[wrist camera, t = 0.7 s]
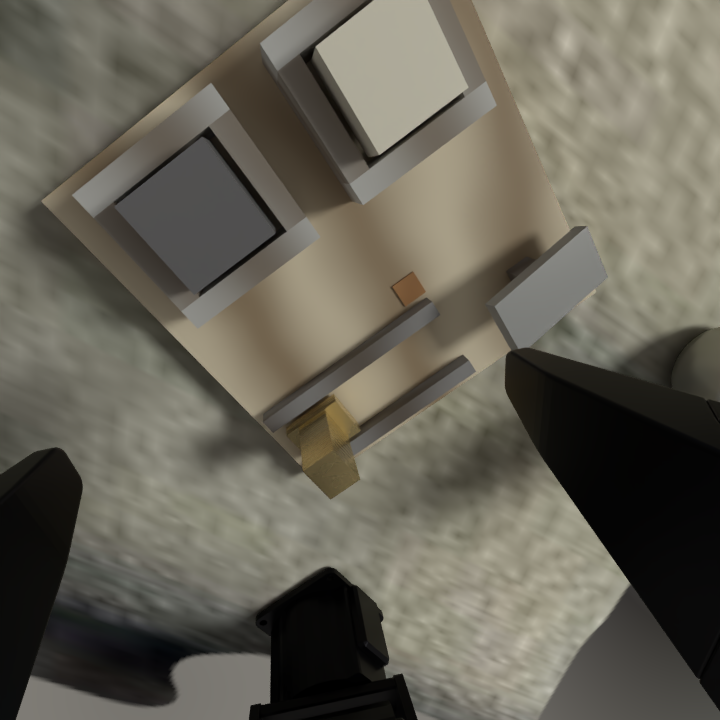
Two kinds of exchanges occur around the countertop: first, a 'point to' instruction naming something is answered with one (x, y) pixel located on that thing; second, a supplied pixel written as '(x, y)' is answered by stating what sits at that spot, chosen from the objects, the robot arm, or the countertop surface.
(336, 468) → the slider
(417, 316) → the panel
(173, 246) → the charcoal button
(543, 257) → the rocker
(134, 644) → the countertop surface
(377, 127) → the cream button
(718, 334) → the plastic bottle
